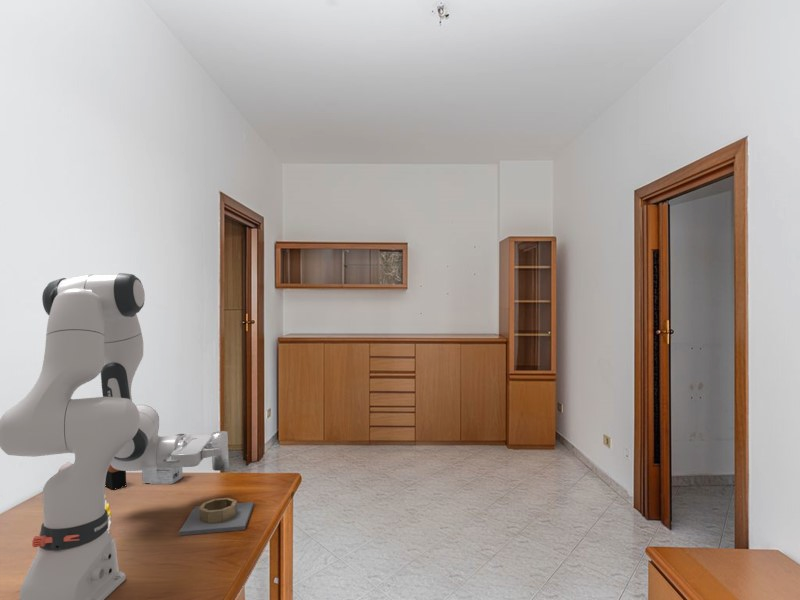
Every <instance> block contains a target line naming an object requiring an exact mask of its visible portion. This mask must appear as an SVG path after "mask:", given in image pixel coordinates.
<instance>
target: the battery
mask: <svg viewBox="0 0 800 600" xmlns="http://www.w3.org/2000/svg"><path fill="white" fill-rule="evenodd" d="M105 485H106V486H108V487H110V488H112V489H115V488H118V489H120V488H119V487H122V486H125V485H126V486H127V471H122V470H117V469H114V468H113V467H112V466H111V465H110V466H109V468H108V471H107V475H106V481H105ZM106 486H105V487H106ZM126 486H125V487H126ZM108 487H107V488H108ZM110 488H109V489H110ZM122 488H123V487H122ZM112 489H111V490H112ZM115 490H116V489H115Z"/></svg>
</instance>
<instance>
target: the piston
mask: <svg viewBox="0 0 800 600" xmlns="http://www.w3.org/2000/svg"><path fill="white" fill-rule="evenodd" d="M210 435H211V439H212V449H215V448H221V449H222V453H221V454H220V455H217V456H212V457H211V463H212V470H213V471H215V472H216V471H217V472H218V471H224V470H227V469H229V468H230V466H229V465H230V464H229V463H230V462H229V438H228V437H229V436H228V431H226V430H219V431H218V430H217V431H214V432H212V433H211V434H210Z"/></svg>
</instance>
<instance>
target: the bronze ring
mask: <svg viewBox="0 0 800 600" xmlns="http://www.w3.org/2000/svg"><path fill="white" fill-rule="evenodd" d="M237 503H238V501H237V500H236V499H233V498H230V497H222V498H212V499H210V500H208V501H205V502H202V503H201V505H200V506H201V507H200V508H199V518H200V521H203V522H205V523H207V524H209V523H220V522H224V521H227V520H229V519H232V518H234V517H235V515H236V513H237Z"/></svg>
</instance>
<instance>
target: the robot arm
mask: <svg viewBox="0 0 800 600" xmlns="http://www.w3.org/2000/svg"><path fill="white" fill-rule="evenodd" d="M145 297H146V296H145V289H144V285H143V283H142V281H141V279H140V278H138V277H137V276H136V275H135V274H132V273H124V272H123V273H122V272H120V273H117V274H113V273H112V274H108V273H107V274H106V273H105V274H104V273H103V274H84V275H78V276H73V277H69V278H66V277H63V278H58V279H55V280H52V281H50V282H49V283H48V284H47V285H46V287H45V288H44V289H43V292H42V299H41V300H42V305H43V309H44V311H45V313H46V315H48V321H47V325H46V335H45V347H44V353H43V354H44V355H43V361H42V368H41V372H40V374H39V377H38V379H37V381H36V383H35V384H34V385H33V387H32V388H31V390H30V391H29V392H28V393H27V394H26V396H24V397H23V398H22V400H20V401H19V402H17V403H16V404H14V405H13V406H12V407H10V408H9V409H7V410H6V411H5V412H4V414H2V416H1V417H0V449H1V450H2V451H3V452H4V453H5V454H6V455H8V456H13V457H15V456H17V457H36V458H37V457H43V456H52V455H61V454H74V462H73V463H72V465H71V466H69V467H67V468H65V469H63V470H61V471H60V472H58V471H57V473H55V474H53V475H52V476H51V477H50V478H49V479H48V480H47V481H46V483H45V484H44V486H43V489H42V493H41V494H42V515H43V516H42V517H43V518H42V519H43V522H42V524H41V527H40V531H39V535H35V536H33V539H32V541H31V542H32V543H31V544H32V547H33V548H38V550H37V552H36V555H35V557H34V558H33V559H32V563H31V564H30V566H29V569H28V571H27V573H26V575H25V578H24V580H23V581H22V584H21V587H20V590H19V600H105V599H106V598H108V596H110V595H111V594H112V593H113V592H114V591H115V590H116V589H117V588H118V587H119V586H120V585H121V584H122V583H123V582H124V581H126V578H127V577H126V576H127V575H126V573H125V571H121V570H120V568H119V567H120V566H119V560H118V550H117V544H116V540H115V539H114V538H113V537H112V536H111V535H110V534H109V531H108V528H109V515H108V510H107V509H106V501H105V500H106V486H105V481H106V475H107V471H108V468H109V466H110V465H111V466H112V467H113V468H114V469H117V470H122V471H126V472H136V471H137V472H138V471H139V472H140V471H141V472H142V470H147V469H150V468H156V469H169V468H178V467H182V468H191V467H197V466H199V465H200V464H201V462H202V461H203V460H204V459H206V458H207V459H208V458H210V457H211V458H212V456H217V455H220V454H221V453H222V449H221V448H215V449H212V439H211V434H188V435H187V433H178V434H175V435H168V436H166V435H165V436H159V428H160V416H159V414H158V412H157V410H156V409H154V408H153V407H152V406H149V405H146V404H137V405H135V403H134V402H133V398H132V384H133V381H134V377H135V375H136V371H137V370H138V367H139V366H140V364H141V363H142V362H141V361H142V360H143V357H144V337H143V333H142V327H141V325H140V321H139V317H138V315H137V314H138V313H140V312H141V310H142V308H143V307H144V305H145V300H146V299H145ZM99 374H100V379H101V381H100V383H101V392H102V396H97V397H85V398H84V397H83V398H73V399H72V396H73V394H74V393H75V391H76V390H77V389H78V388H80V387H81V386H82V385H85V384H86V383H88V382H91V381H92V380H94V379H96V377H98V376H99Z"/></svg>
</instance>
